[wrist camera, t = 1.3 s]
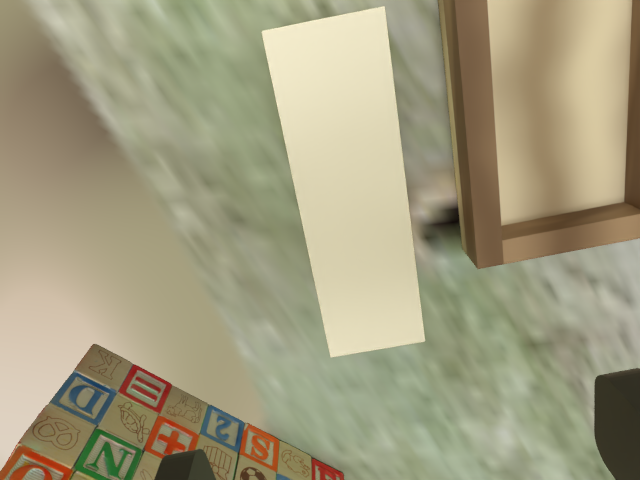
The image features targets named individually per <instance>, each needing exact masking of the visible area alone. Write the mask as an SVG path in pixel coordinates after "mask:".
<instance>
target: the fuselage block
mask: <svg viewBox="0 0 640 480" xmlns="http://www.w3.org/2000/svg"><path fill="white" fill-rule="evenodd" d="M261 32H262V36H263V41H264V46H265V51H266V55H267V60H268V65H269V69H270V74H271V79H272V83H273V88H274V93H275V98H276V102H277V107H278V112H279V116H280V121H281V126H282V131H283V135H284V140H285V145H286V149H287V154H288V159H289V164H290V168H291V173H292V178H293V182H294V187H295V192H296V197H297V201H298V206H299V211H300V215H301V220H302V225H303V229H304V234H305V239H306V244H307V248H308V253H309V258H310V262H311V267H312V272H313V277H314V281H315V286H316V291H317V295H318V300H319V305H320V310H321V314H322V319H323V324H324V328H325V333H326V338H327V343H328V347H329V352H330V357H336V356H342V355H348V354H354V353H360V352H366V351H372V350H378V349H384V348H389V347H395V346H401V345H407V344H413V343H419V342H425V336H424V328H423V320H422V311H421V303H420V295H419V287H418V278H417V270H416V262H415V254H414V245H413V237H412V229H411V220H410V212H409V204H408V196H407V187H406V179H405V171H404V162H403V154H402V146H401V138H400V129H399V121H398V113H397V105H396V96H395V88H394V80H393V71H392V63H391V55H390V47H389V38H388V30H387V22H386V13H385V6H382V7H377V8H372V9H367V10H362V11H358V12H353V13H348V14H343V15H338V16H333V17H328V18H323V19H318V20H313V21H308V22H303V23H298V24H293V25H288V26H283V27H279V28H274V29H269V30H264V31H261Z"/></svg>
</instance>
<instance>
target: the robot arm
mask: <svg viewBox="0 0 640 480" xmlns="http://www.w3.org/2000/svg"><path fill="white" fill-rule="evenodd" d="M594 432H595V440H596V444H597V447H598V450H599V453H600V455H601V457H602V459H603V461H604V463H605V465H606V466H607V468H608V469H609V471H610V472H611V474H612V475H613V476H614V478H615V479H616V480H640V369H639V368H636V369H630V370H625V371H620V372H614V373H609V374H604V375H599V376H597V377H596V380H595V426H594ZM154 480H216V478H215V475H214V473H213V470H212V468H211V465H210V463H209V460H208V458H207V456H206V453H205V452H204V451H203V450H202V449H197V450H191V451H186V452H181V453H175V454H170V455H166V456H164V457H163V458H162V460H161V462H160V465H159V468H158V470H157V473H156V476H155V479H154Z"/></svg>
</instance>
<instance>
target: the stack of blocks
mask: <svg viewBox="0 0 640 480" xmlns="http://www.w3.org/2000/svg"><path fill="white" fill-rule="evenodd" d="M197 449H202V450H203V451H204V452H205V453H206V456H207V458H208V460H209V463H210V465H211V468H212V470H213V473H214V475H215V478H216V480H344V475H343V473H341V472H339V471H337V470H335V469H333V468H331V467H329V466H327V465H325V464H323V463H321V462H319V461H317V460H315V459H312V458H311V456H310V455H308V454H306V453H304V452H302V451H300V450H298V449H297V448H295V447H293V446H291V445H289V444H287V443H285V442H282V441H279V440H278V439H277V438H275V437H273V436H271V435H269V434H268V433H266V432H264V431H262V430H260V429H258V428H256V427H254V426H252V425H250V424H249V423H244V422H243V421H241V420H239V419H237V418H235V417H233V416H231V415H229V414H228V413H225V412H223V411H222V410H220V409H218V408H216V407H214V406H212V405H209V404H207V403H206V402H204V401H202V400H200V399H198V398H196V397H194V396H192V395H190V394H188V393H186V392H184V391H183V390H181V389H179V388H177V387H175V386H172V384H171V383H169V382H167V381H165V380H164V379H162V378H160V377H158V376H156V375H154V374H152V373H150V372H148V371H147V370H145V369H142V368H141V367H139V366H137V365H134V364H132V363H131V362H130V361H128V360H126V359H124V358H123V357H121V356H119V355H117V354H115V353H113V352H111V351H109V350H107V349H105V348H103V347H101V346H99V345H97V344H93V345H92V346H91V348H90V349H89V350H88V352H87V353H86V355H85V356H84V357H83V359H82V360H81V361H80V363H79V364H78V365H77V367H76V368H75V370H74V371H73V373H72V374H71V375H70V376H69V378H68V379H67V380H66V381H65V383H64V384H63V385H62V387H61V388H60V389H59V391H58V392H57V393H56V394H55V396H54V397H53V398H52V400H51V401H50V402H49V404H48V405H46V406H45V408H44V409H43V410H42V411H41V413H40V414H39V415H38V416H37V418H36V419H35V421H34V422H33V423H32V424H31V426H30V427H29V429H28V430H27V431H26V432H25V434H24V435H23V437H22V438H21V439H20V441H19V442H18V444H17V445H16V447H15V449H14V450H13V452H12V454H11V456H10V457H9V459H8V461H7V462H6V464H5V466H4V467H3V468H2V470H1V471H0V480H154V479H155V476H156V473H157V470H158V468H159V465H160V462H161V460H162V458H163V457H164V456H166V455H170V454H175V453H181V452H186V451H191V450H197Z"/></svg>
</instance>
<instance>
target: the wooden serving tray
mask: <svg viewBox="0 0 640 480" xmlns="http://www.w3.org/2000/svg"><path fill="white" fill-rule="evenodd" d="M438 6H439V16H440V26H441V36H442V46H443V57H444V67H445V77H446V87H447V98H448V108H449V118H450V128H451V139H452V149H453V159H454V169H455V179H456V190H457V200H458V210H459V220H460V231H461V241H462V249H463V250H464V252H465V253H466V254H467V256H468V257H469V258H470V259H471V261H472V262H473V263H474V265H475V266H476V267H477V269H481V268H486V267H491V266H496V265H502V264H507V263H512V262H517V261H523V260H528V259H533V258H538V257H544V256H549V255H554V254H559V253H565V252H570V251H575V250H580V249H586V248H591V247H596V246H601V245H607V244H612V243H617V242H623V241H628V240H633V239H638V238H640V0H438Z"/></svg>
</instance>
